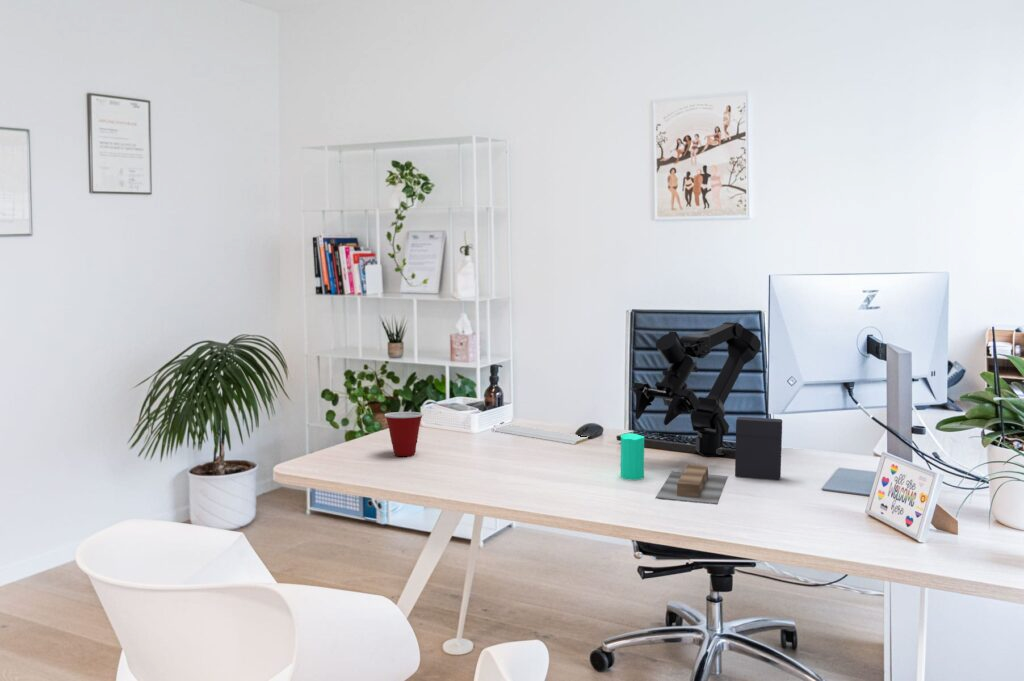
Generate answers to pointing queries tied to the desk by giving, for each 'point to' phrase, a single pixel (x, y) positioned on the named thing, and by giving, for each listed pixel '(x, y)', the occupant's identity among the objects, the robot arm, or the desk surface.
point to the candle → (632, 456)
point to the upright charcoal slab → (758, 448)
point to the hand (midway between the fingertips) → (650, 421)
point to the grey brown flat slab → (693, 485)
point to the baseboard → (541, 434)
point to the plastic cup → (404, 431)
